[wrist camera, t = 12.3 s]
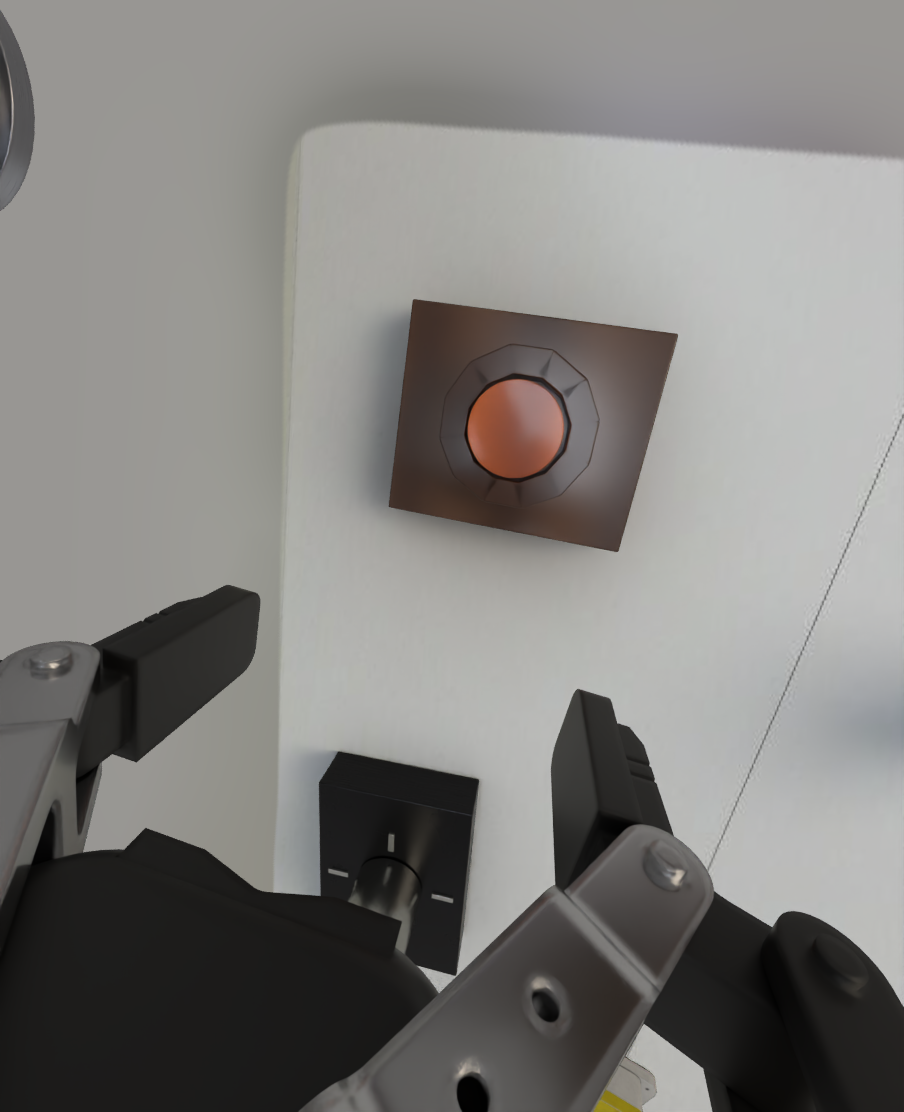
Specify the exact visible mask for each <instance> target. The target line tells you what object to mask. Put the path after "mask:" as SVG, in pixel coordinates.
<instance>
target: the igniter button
mask: <svg viewBox="0 0 904 1112" xmlns="http://www.w3.org/2000/svg"><path fill="white" fill-rule="evenodd" d="M563 434H564V420H563V415H562V411H561V408H560V406H559V404H558V402H557V400H556V399H555V398H554V396H553V395H552V394H551V393H550V392H549V391H548V390H547V389H546V388H544V387H543V386H541V385H539V384H538V383H535V382H533V381H530V380H525V379H510V380H505V381H502V382H499V383H497V384H495V385H493V386H492V387H490V388H489V389H487V390H486V391H485V392H484V393H483V394H482V395H481V396H480V397H479V398H478V400H477V401H476V403H475V404H474V406H473V408H472V410H471V413H470V416H469V420H468V440H469V444H470V447H471V450H472V452H473V454H474V456H475V457H476V459H477V460H478V461H479V463H480V464H481V465H482V466H483V467H484V468H486V469H487V470H488V471H490V472H492V473H494V474H496V475H498V476H502V477H506V478H522V477H526V476H530V475H532V474H535V473H537V472H538V471H540V470H542V469H543V468H544V467H546V466H547V465H548V464H549V463H550V462H551V461H552V459H553V458H554V457H555V455H556V454H557V452H558V450H559V448H560V445H561V443H562V439H563Z"/></svg>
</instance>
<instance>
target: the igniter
mask: <svg viewBox="0 0 904 1112" xmlns="http://www.w3.org/2000/svg"><path fill="white" fill-rule="evenodd" d="M677 338H678V334H674V333H666V332H659V331H651V330H644V329H636V328H628V327H621V326H613V325H606V324H598V323H591V322H583V321H575V320H568V319H560V318H553V317H545V316H538V315H530V314H522V313H515V312H507V311H500V310H492V309H484V308H477V307H469V306H462V305H454V304H447V303H439V302H431V301H424V300H416V299H414V300H413V303H412V312H411V321H410V329H409V338H408V346H407V355H406V363H405V372H404V380H403V389H402V397H401V406H400V414H399V423H398V431H397V440H396V448H395V457H394V465H393V474H392V483H391V491H390V500H389V507H391V508H396V509H401V510H406V511H411V512H416V513H421V514H427V515H432V516H437V517H442V518H447V519H452V520H457V521H462V522H467V523H472V524H477V525H482V526H487V527H492V528H497V529H503V530H508V531H513V532H518V533H523V534H528V535H533V536H538V537H543V538H548V539H553V540H558V541H563V542H568V543H574V544H579V545H584V546H589V547H594V548H599V549H604V550H609V551H614V552H618V551H619V547H620V544H621V540H622V536H623V533H624V529H625V526H626V522H627V518H628V515H629V511H630V508H631V504H632V500H633V497H634V493H635V490H636V486H637V482H638V479H639V475H640V472H641V468H642V464H643V461H644V457H645V454H646V450H647V446H648V443H649V439H650V435H651V432H652V428H653V425H654V421H655V417H656V414H657V410H658V407H659V403H660V399H661V396H662V392H663V389H664V385H665V381H666V378H667V374H668V371H669V367H670V363H671V360H672V356H673V353H674V349H675V345H676V342H677ZM510 379H525V380H530V381H533V382H535V383H538V384H539V385H541V386H543V387H544V388H546V389H547V390H548V391H549V392H550V393H551V394H552V395H553V396H554V398H555V399H556V400H557V402H558V404H559V406H560V408H561V411H562V415H563V420H564V434H563V439H562V443H561V445H560V448H559V450H558V452H557V454H556V455H555V457H554V458H553V459H552V461H551V462H550V463H549V464H548V465H547V466H546V467H544V468H543V469H542V470H540V471H538V472H537V473H535V474H532V475H530V476H526V477H522V478H506V477H502V476H498V475H496V474H494V473H492V472H490V471H488V470H487V469H486V468H484V467H483V466H482V465H481V464H480V463H479V461H478V460H477V459H476V457H475V456H474V454H473V452H472V450H471V447H470V444H469V440H468V420H469V416H470V413H471V410H472V408H473V406H474V404H475V403H476V401H477V400H478V398H479V397H480V396H481V395H482V394H483V393H484V392H485V391H486V390H487V389H489V388H490V387H492V386H493V385H495V384H497V383H499V382H502V381H505V380H510Z"/></svg>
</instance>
